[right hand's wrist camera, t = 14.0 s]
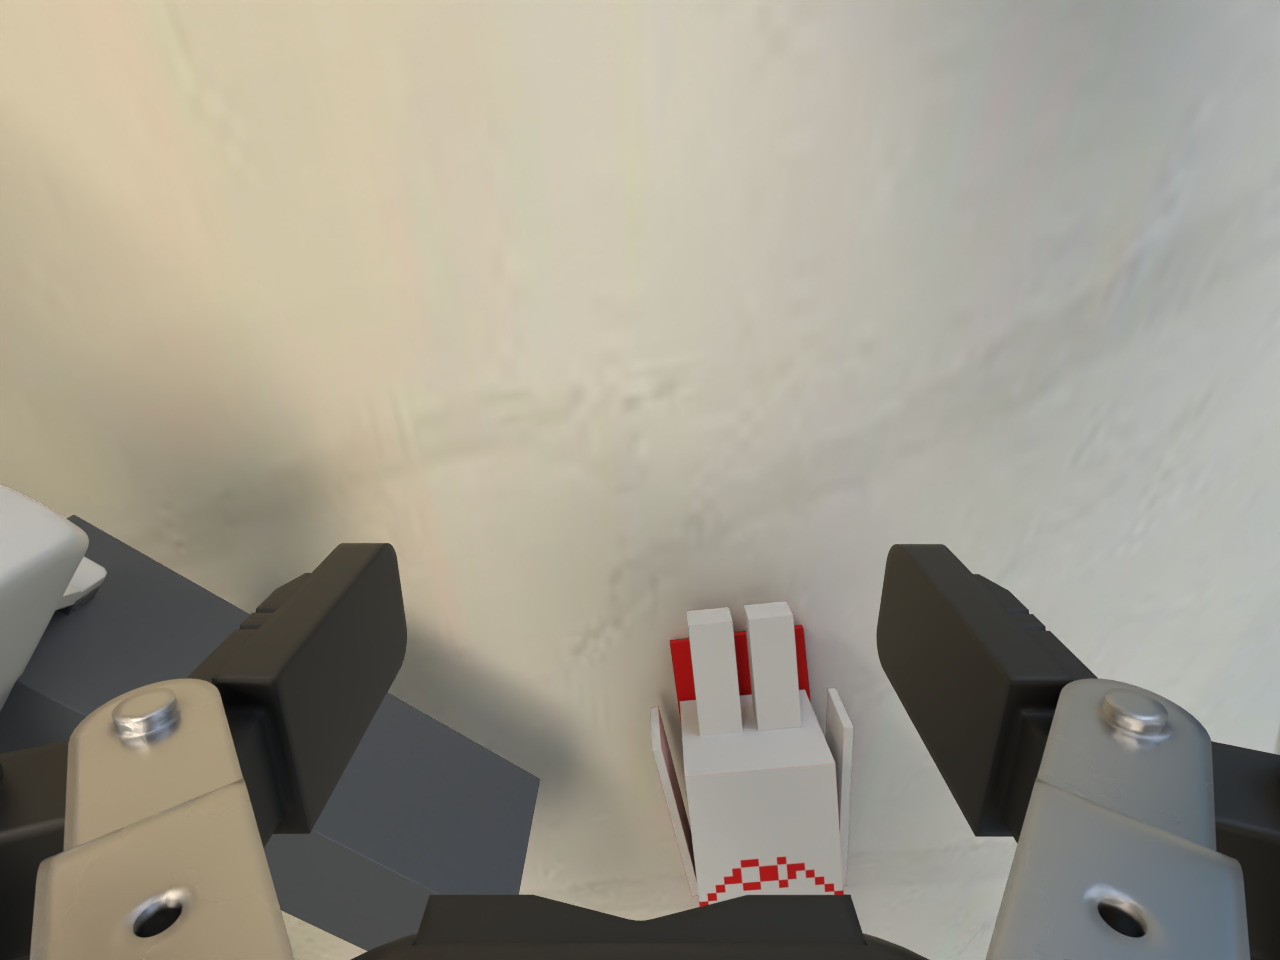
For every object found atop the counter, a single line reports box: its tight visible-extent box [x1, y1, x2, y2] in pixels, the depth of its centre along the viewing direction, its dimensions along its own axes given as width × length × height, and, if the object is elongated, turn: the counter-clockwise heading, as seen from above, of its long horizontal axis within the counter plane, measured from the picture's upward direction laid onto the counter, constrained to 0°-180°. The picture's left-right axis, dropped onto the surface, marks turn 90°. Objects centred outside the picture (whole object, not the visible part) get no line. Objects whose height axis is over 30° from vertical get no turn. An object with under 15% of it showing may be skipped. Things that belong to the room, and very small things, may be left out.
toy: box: [650, 601, 853, 907], centre depth 46 cm, size 12×13×30 cm
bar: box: [0, 515, 540, 951], centre depth 31 cm, size 26×5×9 cm, turn 53°
